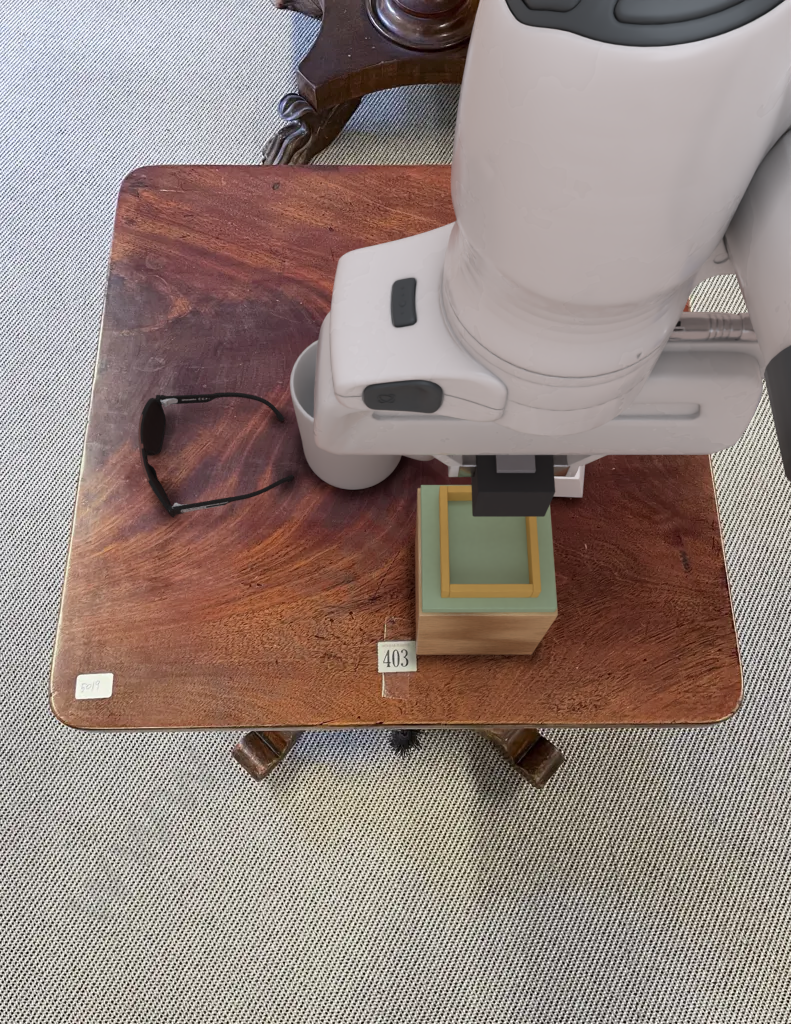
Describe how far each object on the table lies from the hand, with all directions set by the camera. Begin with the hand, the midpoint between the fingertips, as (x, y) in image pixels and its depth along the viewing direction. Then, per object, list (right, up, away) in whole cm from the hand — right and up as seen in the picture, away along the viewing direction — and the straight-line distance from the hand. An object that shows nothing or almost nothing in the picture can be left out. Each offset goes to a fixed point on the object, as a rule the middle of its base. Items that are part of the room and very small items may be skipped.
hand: (509, 464), depth 47 cm
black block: (0, -1, +1) cm, 2 cm away
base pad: (0, -5, +10) cm, 12 cm away
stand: (0, -9, +22) cm, 24 cm away
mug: (-8, +3, +26) cm, 28 cm away
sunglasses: (-21, +2, +26) cm, 34 cm away
